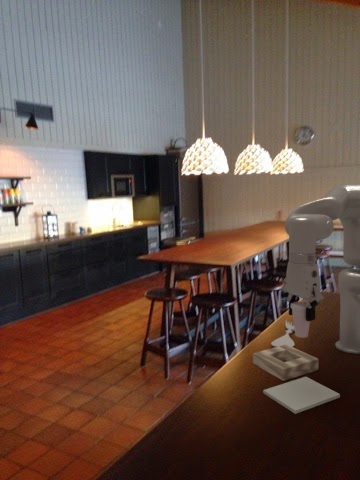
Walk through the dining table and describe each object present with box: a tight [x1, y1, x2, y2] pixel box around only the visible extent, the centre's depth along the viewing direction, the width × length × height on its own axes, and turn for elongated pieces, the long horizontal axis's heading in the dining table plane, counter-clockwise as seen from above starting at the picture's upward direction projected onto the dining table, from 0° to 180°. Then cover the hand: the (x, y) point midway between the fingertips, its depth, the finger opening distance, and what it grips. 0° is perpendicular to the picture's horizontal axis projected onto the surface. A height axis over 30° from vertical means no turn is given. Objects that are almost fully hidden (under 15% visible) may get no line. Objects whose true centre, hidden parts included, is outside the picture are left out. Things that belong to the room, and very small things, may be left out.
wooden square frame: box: [252, 344, 319, 381], centre depth 148 cm, size 16×16×4 cm
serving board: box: [262, 376, 341, 415], centre depth 128 cm, size 18×14×1 cm
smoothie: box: [291, 298, 311, 339], centre depth 125 cm, size 6×6×14 cm
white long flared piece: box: [270, 319, 295, 348], centre depth 176 cm, size 9×32×4 cm, turn 154°
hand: (301, 316), depth 125 cm, fingers closed on smoothie, 6 cm apart
